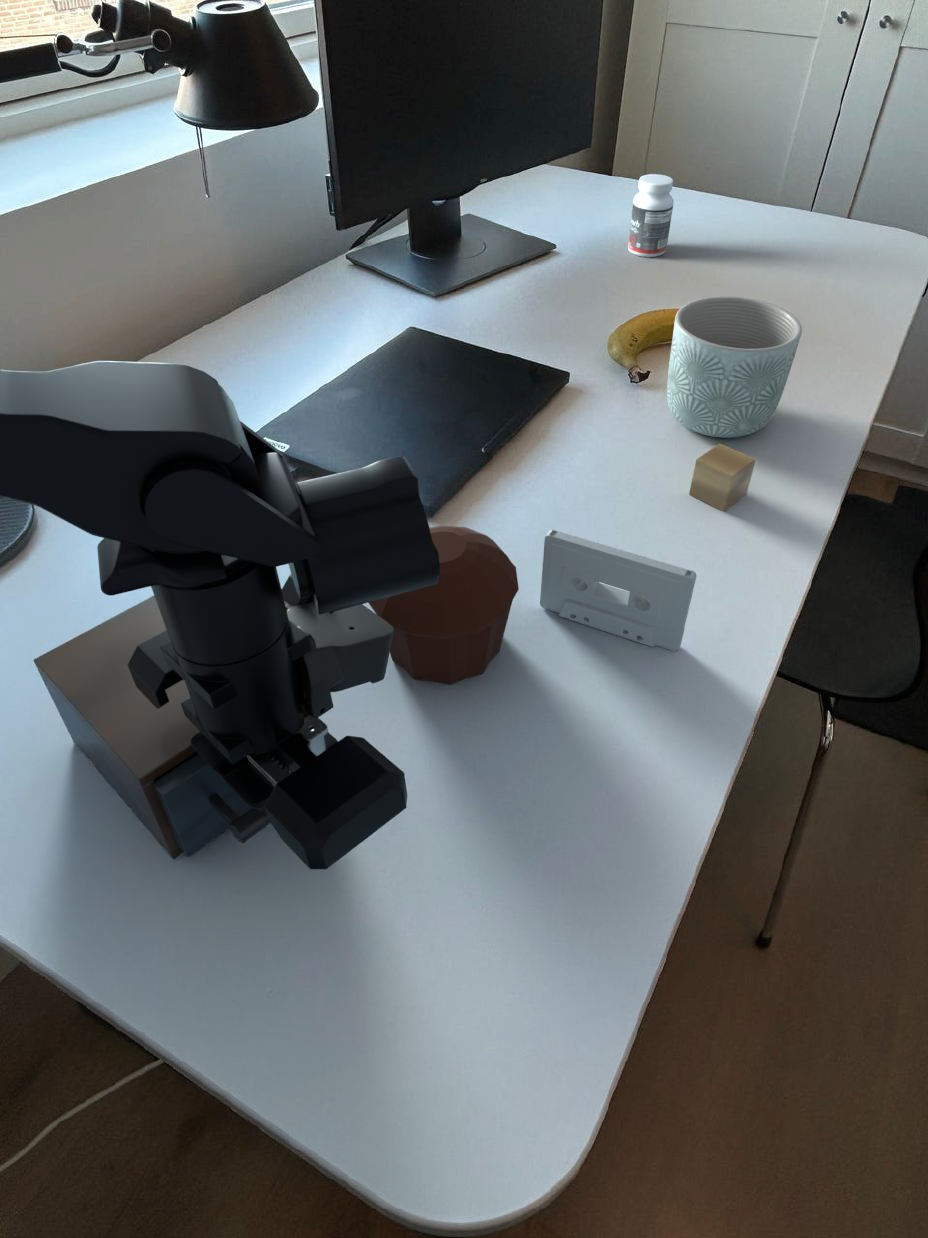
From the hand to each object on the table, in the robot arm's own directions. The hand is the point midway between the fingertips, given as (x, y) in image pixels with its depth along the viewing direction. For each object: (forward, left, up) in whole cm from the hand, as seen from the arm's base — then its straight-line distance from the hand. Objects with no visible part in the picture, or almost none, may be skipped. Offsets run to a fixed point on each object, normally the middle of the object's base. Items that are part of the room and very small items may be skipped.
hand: (285, 817), depth 53 cm
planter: (+65, +11, -5) cm, 66 cm away
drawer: (0, +9, -4) cm, 9 cm away
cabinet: (0, +12, -5) cm, 13 cm away
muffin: (+20, +7, -5) cm, 22 cm away
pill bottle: (+98, +45, -5) cm, 108 cm away
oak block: (+53, +3, -5) cm, 53 cm away
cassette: (+31, -1, -5) cm, 31 cm away
